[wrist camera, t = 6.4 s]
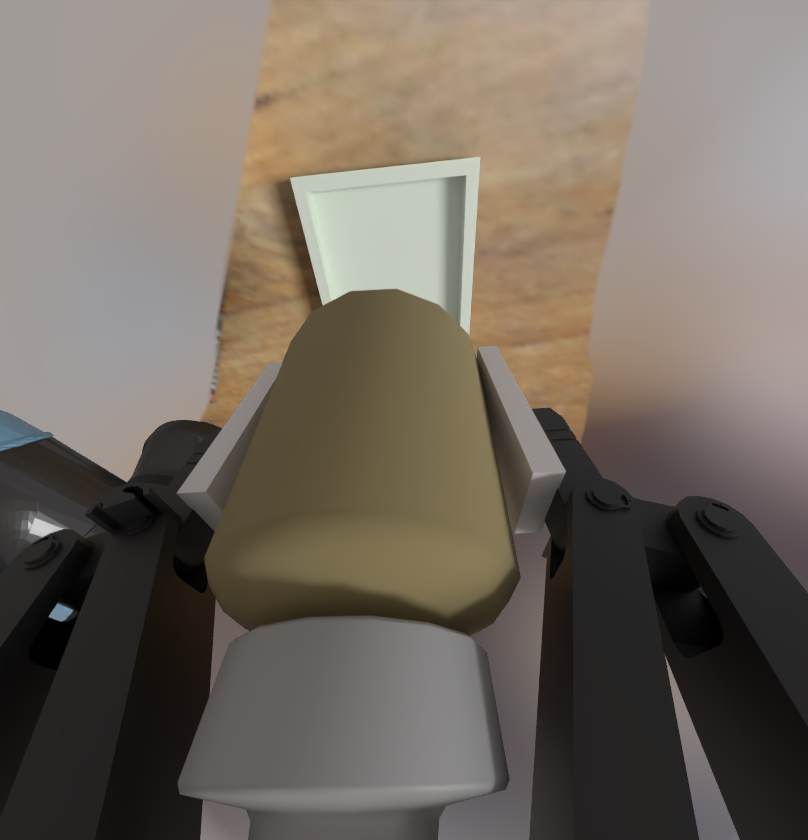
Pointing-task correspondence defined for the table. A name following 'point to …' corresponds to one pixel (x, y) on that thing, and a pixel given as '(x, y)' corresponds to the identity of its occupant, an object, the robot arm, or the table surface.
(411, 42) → the table surface
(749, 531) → the robot arm
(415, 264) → the tray
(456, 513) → the squeeze bottle
